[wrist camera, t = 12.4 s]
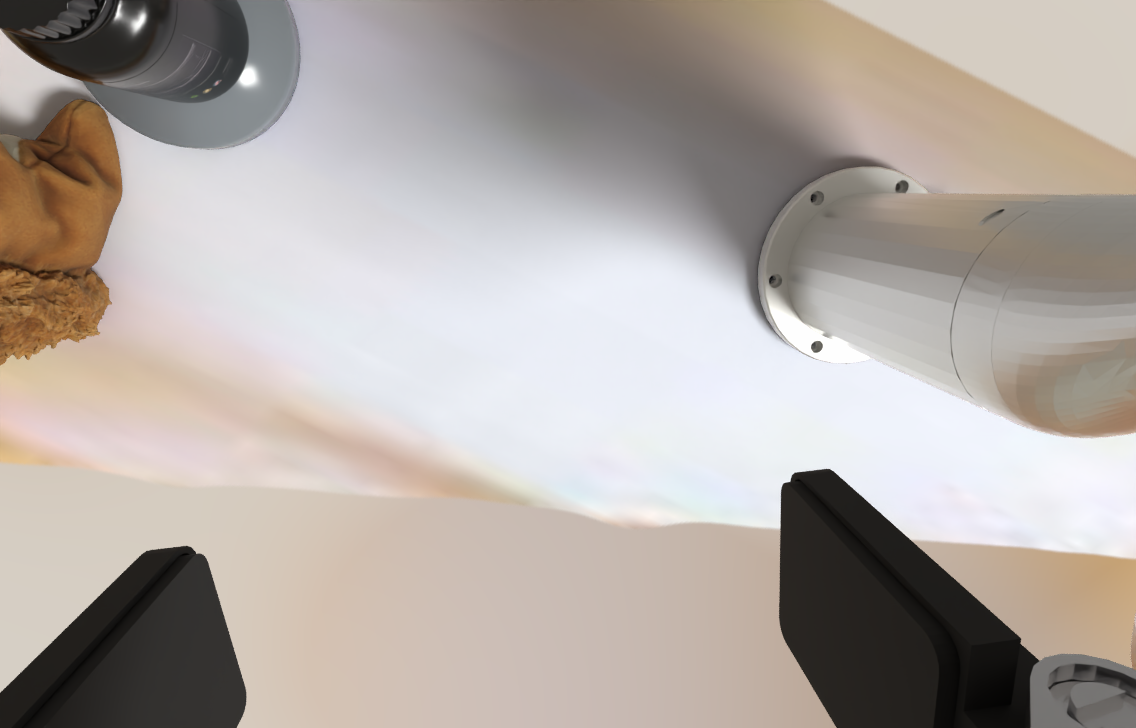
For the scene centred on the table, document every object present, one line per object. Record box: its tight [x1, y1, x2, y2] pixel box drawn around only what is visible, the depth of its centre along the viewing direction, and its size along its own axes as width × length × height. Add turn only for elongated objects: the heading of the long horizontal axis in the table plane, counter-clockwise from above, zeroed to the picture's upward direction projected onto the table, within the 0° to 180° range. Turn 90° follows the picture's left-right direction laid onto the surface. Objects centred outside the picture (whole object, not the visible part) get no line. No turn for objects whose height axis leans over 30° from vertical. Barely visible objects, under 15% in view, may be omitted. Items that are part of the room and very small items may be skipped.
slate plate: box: [83, 0, 300, 150], centre depth 32 cm, size 11×11×2 cm
